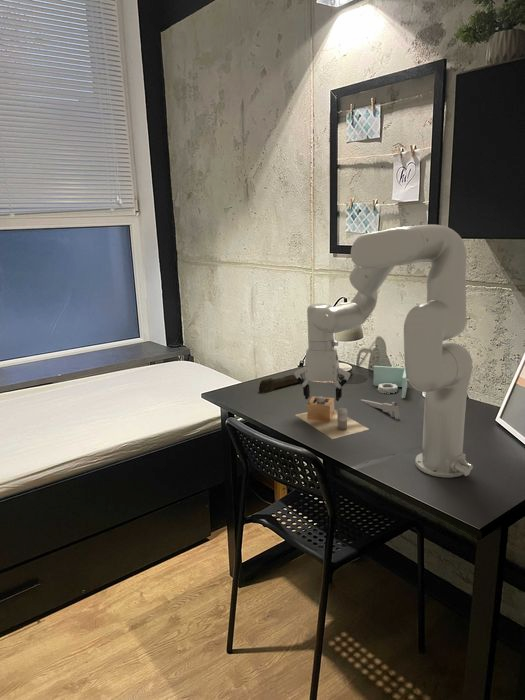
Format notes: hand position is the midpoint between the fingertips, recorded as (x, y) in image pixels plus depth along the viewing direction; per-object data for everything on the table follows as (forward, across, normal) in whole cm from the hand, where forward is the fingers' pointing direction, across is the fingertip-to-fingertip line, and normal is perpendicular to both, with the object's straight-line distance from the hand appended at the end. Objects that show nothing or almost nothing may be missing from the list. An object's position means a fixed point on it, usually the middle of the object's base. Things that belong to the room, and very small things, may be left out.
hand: (322, 398), depth 159 cm
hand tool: (+6, +22, -27) cm, 35 cm away
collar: (+6, +1, 0) cm, 6 cm away
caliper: (+8, -16, -11) cm, 21 cm away
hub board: (+7, -3, +3) cm, 8 cm away
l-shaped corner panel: (+7, -17, -31) cm, 36 cm away
